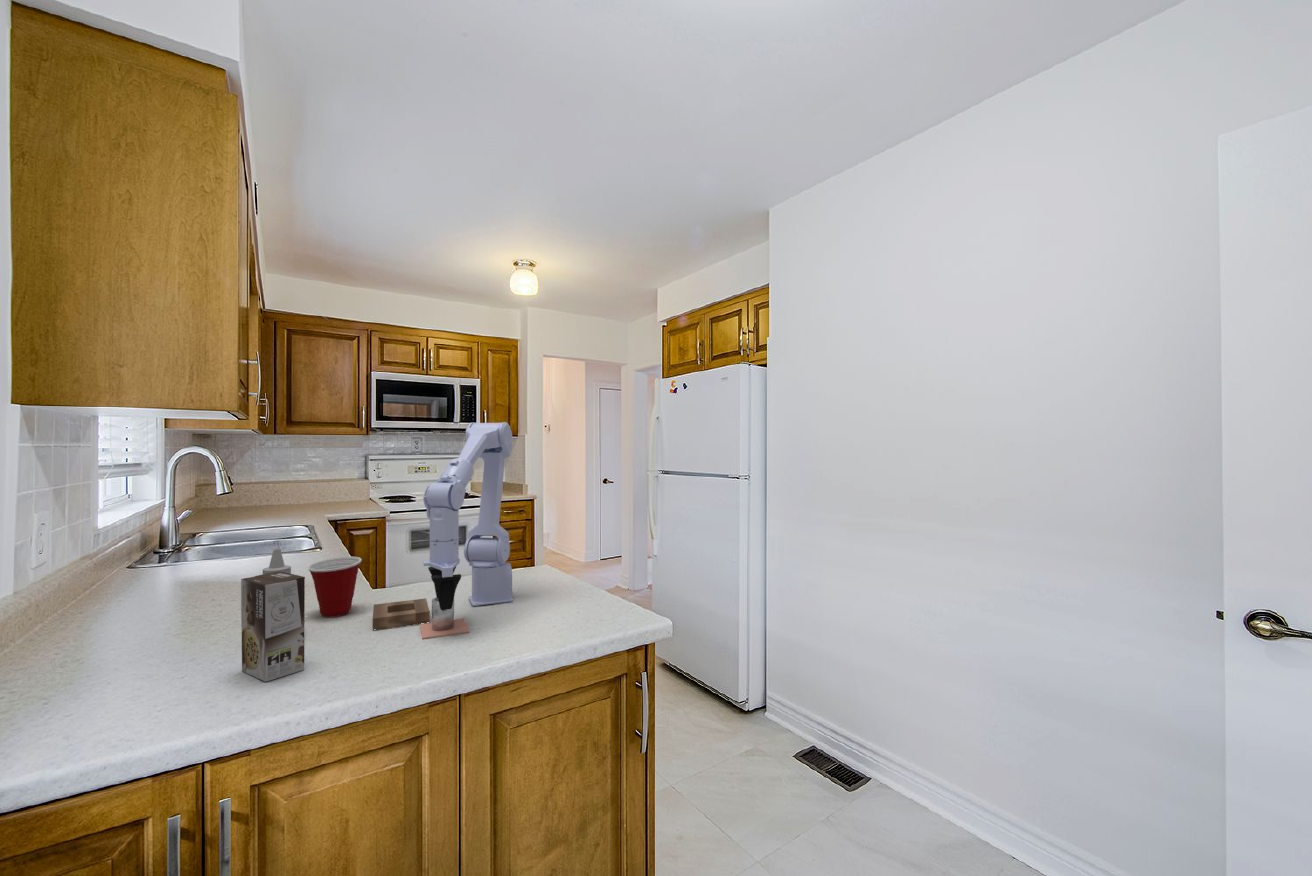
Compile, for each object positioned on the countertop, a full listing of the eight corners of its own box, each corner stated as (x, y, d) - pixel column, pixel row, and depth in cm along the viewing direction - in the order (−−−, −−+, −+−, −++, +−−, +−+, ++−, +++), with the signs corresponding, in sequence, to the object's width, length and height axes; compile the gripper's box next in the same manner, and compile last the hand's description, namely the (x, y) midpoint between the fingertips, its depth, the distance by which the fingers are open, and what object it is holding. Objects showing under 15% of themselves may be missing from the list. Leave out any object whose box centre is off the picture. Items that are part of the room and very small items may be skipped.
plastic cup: (295, 619, 123) (295, 565, 123) (336, 605, 133) (336, 555, 133) (333, 623, 119) (333, 568, 119) (372, 609, 130) (372, 557, 130)
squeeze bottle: (276, 649, 105) (276, 554, 105) (240, 646, 106) (241, 552, 107) (310, 634, 113) (310, 546, 113) (277, 631, 114) (277, 545, 114)
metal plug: (454, 623, 119) (454, 594, 119) (453, 629, 114) (453, 600, 114) (432, 625, 117) (432, 596, 117) (431, 632, 113) (431, 602, 113)
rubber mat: (464, 619, 122) (464, 618, 122) (469, 632, 114) (469, 630, 114) (419, 625, 118) (419, 624, 118) (422, 639, 110) (422, 637, 110)
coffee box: (306, 669, 96) (306, 576, 96) (264, 683, 90) (264, 584, 90) (281, 658, 100) (281, 569, 100) (239, 671, 95) (239, 577, 95)
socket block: (426, 609, 130) (426, 598, 130) (429, 622, 120) (429, 611, 120) (373, 615, 125) (373, 604, 125) (372, 630, 115) (372, 618, 115)
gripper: (421, 535, 121) (421, 597, 121) (425, 547, 108) (425, 616, 108) (455, 533, 124) (455, 593, 124) (463, 544, 111) (463, 611, 111)
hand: (444, 604), depth 116 cm, fingers open, 7 cm apart
